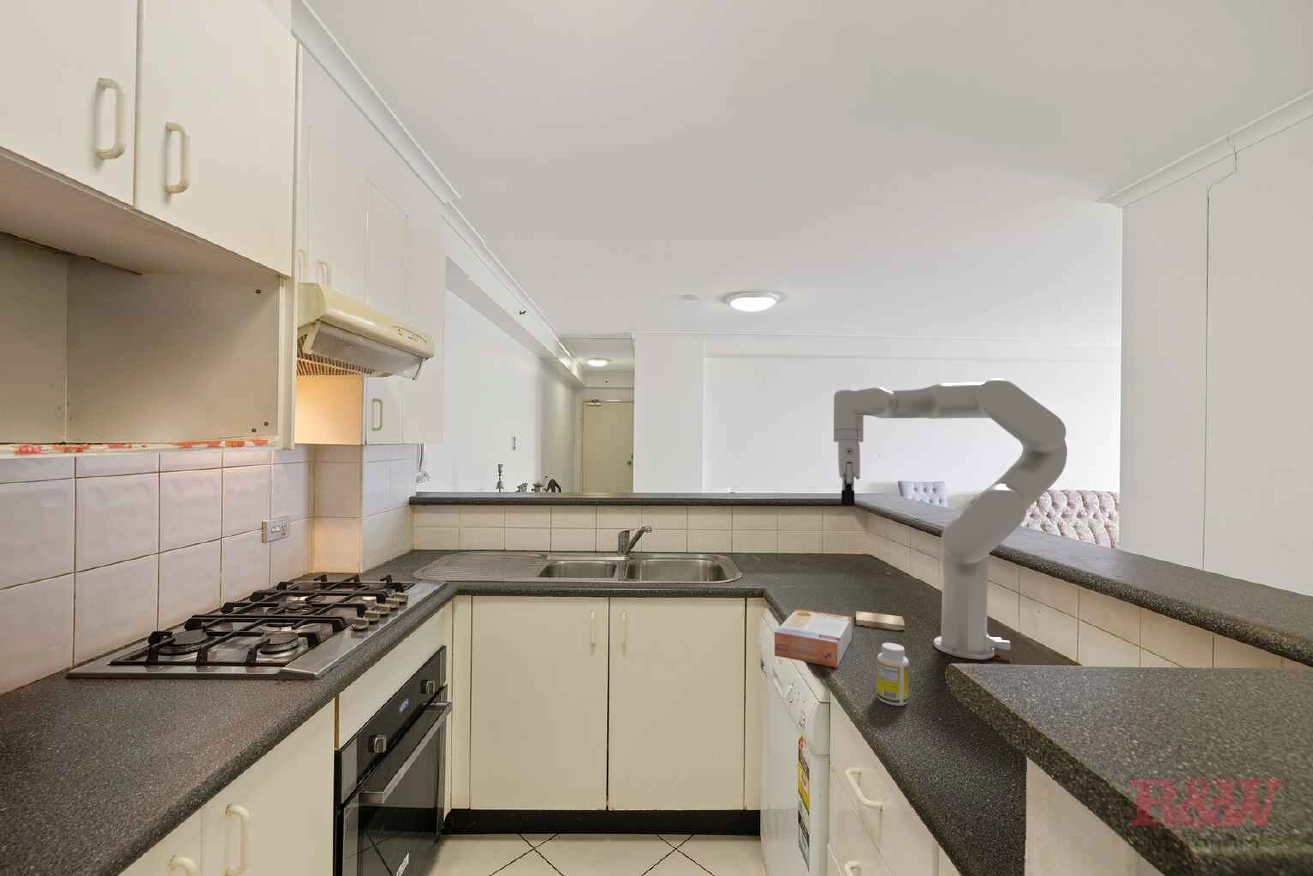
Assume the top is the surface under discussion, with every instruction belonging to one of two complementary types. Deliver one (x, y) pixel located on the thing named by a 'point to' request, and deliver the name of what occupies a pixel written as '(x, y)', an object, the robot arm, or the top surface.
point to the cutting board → (880, 620)
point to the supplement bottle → (892, 675)
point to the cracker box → (814, 637)
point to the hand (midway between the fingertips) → (847, 505)
